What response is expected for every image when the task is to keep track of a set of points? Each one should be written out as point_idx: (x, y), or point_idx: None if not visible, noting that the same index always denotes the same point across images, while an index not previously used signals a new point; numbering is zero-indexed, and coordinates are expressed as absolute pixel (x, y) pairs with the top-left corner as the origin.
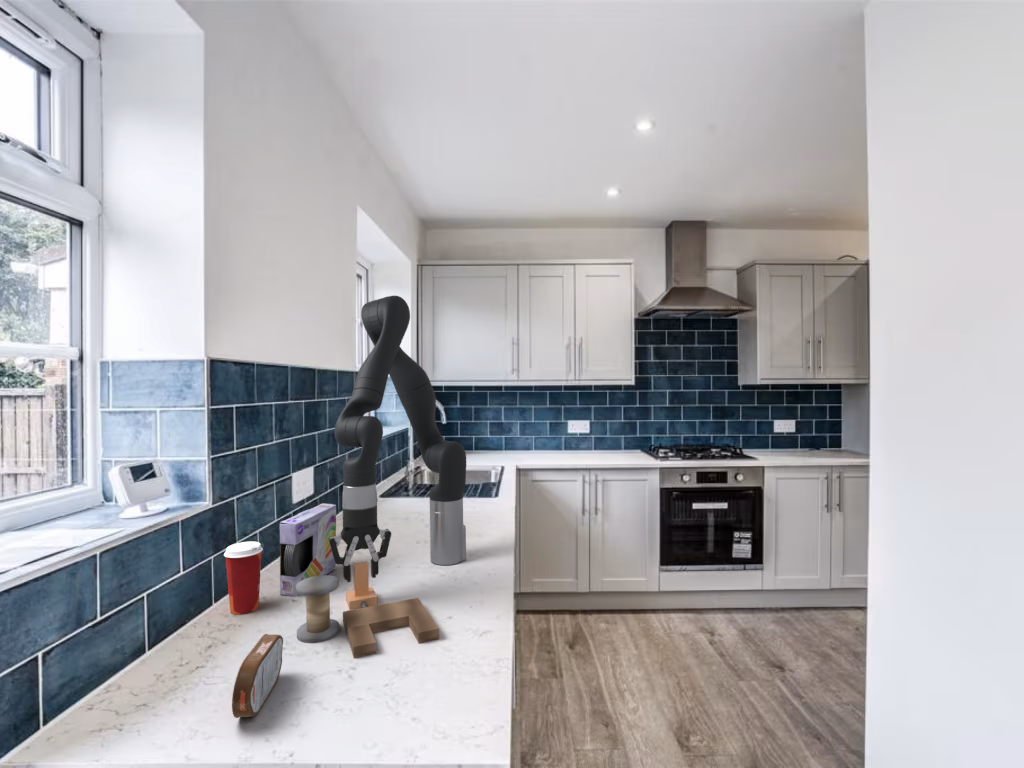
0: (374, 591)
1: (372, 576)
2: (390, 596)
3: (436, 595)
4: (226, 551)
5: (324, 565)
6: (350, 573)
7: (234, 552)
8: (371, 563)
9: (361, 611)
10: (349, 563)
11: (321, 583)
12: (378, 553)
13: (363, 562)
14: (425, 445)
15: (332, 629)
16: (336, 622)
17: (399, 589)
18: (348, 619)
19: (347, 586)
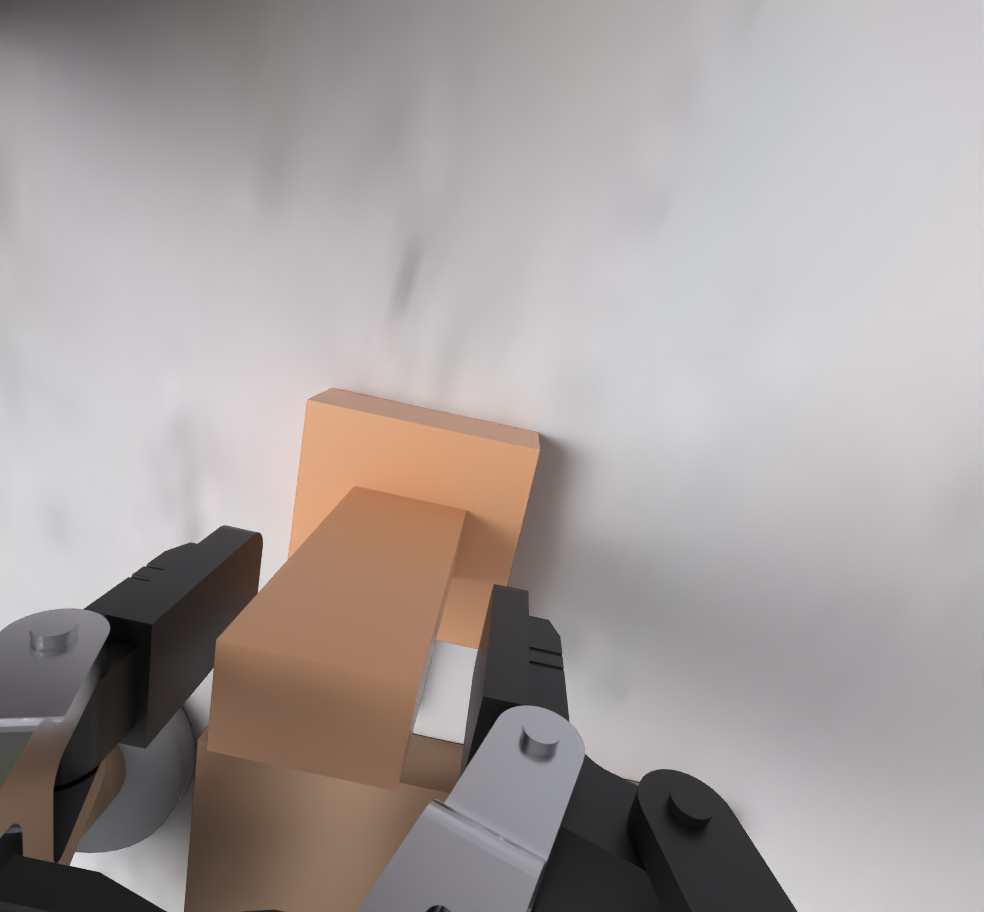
0: (512, 555)
1: (475, 665)
2: (636, 544)
3: (901, 729)
4: None
5: None
6: (202, 677)
7: None
8: (475, 707)
9: (307, 806)
10: (148, 656)
11: None
12: (568, 905)
13: (351, 717)
14: None
15: (132, 820)
16: (166, 760)
17: (763, 466)
18: (208, 850)
19: (426, 84)
